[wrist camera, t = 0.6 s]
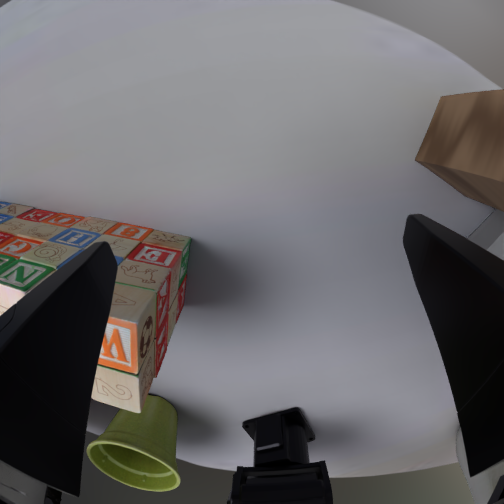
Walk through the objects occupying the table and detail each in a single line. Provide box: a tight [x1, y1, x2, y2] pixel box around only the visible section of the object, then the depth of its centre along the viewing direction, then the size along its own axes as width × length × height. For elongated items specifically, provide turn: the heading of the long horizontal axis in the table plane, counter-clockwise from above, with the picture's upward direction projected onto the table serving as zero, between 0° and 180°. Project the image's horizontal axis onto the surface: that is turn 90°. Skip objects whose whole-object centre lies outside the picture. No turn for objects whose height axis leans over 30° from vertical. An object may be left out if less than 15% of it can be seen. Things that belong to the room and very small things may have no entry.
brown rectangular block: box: [415, 89, 504, 212], centre depth 14 cm, size 6×6×12 cm
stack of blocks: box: [0, 202, 191, 413], centre depth 18 cm, size 21×6×12 cm, turn 79°
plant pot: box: [87, 395, 180, 491], centre depth 26 cm, size 9×9×9 cm
